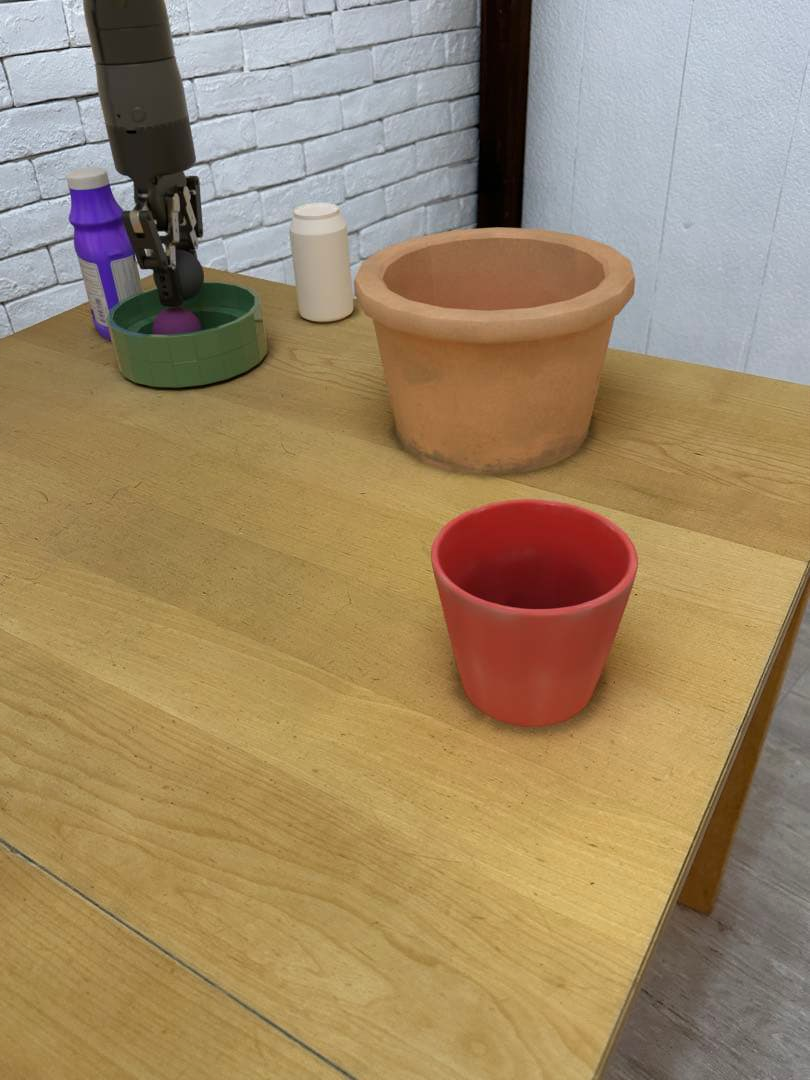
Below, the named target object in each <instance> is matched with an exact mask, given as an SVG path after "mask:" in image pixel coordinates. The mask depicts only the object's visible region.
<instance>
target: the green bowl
mask: <svg viewBox="0 0 810 1080" xmlns="http://www.w3.org/2000/svg"><path fill="white" fill-rule="evenodd" d="M179 307H182V308H185V309H187V310H189V311H191V312H192V313H193V314H194V315H195V316H196V317H197V318H198V320H199V322H200V324H201V327H202V331H198V332H193V333H183V334H173V335H152V326H153V322H154V320H155V318H156V317H157V315H158V314H159V313H160V312H161V311H163V310H165V309H167V308H170V307H165V306H163V305H162V304H161V303H160V298H159V294H158V289H157V287H152V288H149V289H146V290H143V291H142V292H139V293H136V294H134V295H132V296H130V297H128V298H126V299H124V300H122V301H120V302H118V303H117V304H116V305H115V306H114V307H113V308H111V309H110V310H109V313H108V316H107V319H106V320H107V324H108V329H109V333H110V337H111V341H110V342H111V344H112V348H113V352H114V357H115V360H116V364H117V368H118V370H119V371H120V373H121V375H122V376H123V377H124V378H125V379H128V380H129V381H131V382H133V383H135V384H140V385H144V386H150V387H155V388H176V389H177V388H185V387H186V388H187V387H196V386H197V387H198V386H205V385H209V384H214V383H217V382H222V381H227V380H229V379H231V378H234V377H236V376H238V375H241V374H244V373H246V372H248V371H249V370H251V369H253V367H255V366H257V365H258V364H259V363H261V362H262V361H263V359H264V358H265V356H266V355H267V354H268V341H267V334H266V333H267V332H266V326H265V321H264V320H265V319H264V312H263V305H262V298H261V295H260V294H259V293H258V292H256V291H255V289H253V288H251V287H249V286H246V285H244V284H240V283H236V282H235V283H234V282H228V281H221V280H204V282H203V286H202V288H201V290H200V291H199V293H198V294H197V295H196V296H194V297H193V298H191V299H189V300H185V301H184V302H183V303H182V304H181V305H180V306H179Z"/></svg>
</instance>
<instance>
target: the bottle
mask: <svg viewBox="0 0 810 1080" xmlns="http://www.w3.org/2000/svg"><path fill="white" fill-rule="evenodd" d="M65 178H66V182H67V187H68V191H69V195H70V209H69V214H68V222H69V223H70V225H71V226H72V227H73V247H74V252H75V253H76V257H77V261H78V264H79V268H80V272H81V276H82V280H83V284H84V288H85V292H86V296H87V300H88V304H89V308H90V313H91V316H92V322H93V324H94V325H93V326H94V327H95V329H96V331H97V332H98V334H99V335H100V336H101V337H102V338H103V339H105V340H107V341H110V342H112V341H111V337H110V333H109V329H108V324H107V320H106V319H107V316H108V313H109V310H110V309H111V308H113V307H114V306H115V305H116V304H117V303H118V302H120V301H122V300H124V299H126V298H128V297H130V296H132V295H134V294H136V293H139V292H142V291H144V289H143V285H142V281H141V277H140V272H139V266H138V261H137V259H136V256H135V253H134V251H133V248H132V245H131V243H130V240H129V237H128V234H127V232H126V229H125V226H124V224H123V221H122V212H123V211H124V209H123V208H122V207H121V206H120V204H119V203H118V201H117V200H116V198H115V196H114V193H113V191H112V186H111V184H110V180H109V176H108V171H107V169H106V168H103V167H96V166H91V167H90V166H89V167H82V168H77V169H73V170H71V171H69V172H67V173H66V174H65Z"/></svg>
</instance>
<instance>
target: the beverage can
mask: <svg viewBox="0 0 810 1080" xmlns="http://www.w3.org/2000/svg"><path fill="white" fill-rule="evenodd" d="M292 213H293V216H292V219H291V221H290V224H289V227H288V233H289V241H290V248H291V257H292V264H293V265H292V267H293V274H294V275H293V276H294V282H295V289H296V290H295V291H296V298H297V305H298V313H299V315H300V316H301V317H302V318H303V319H305V320H308V321H310V322H313V323H333V322H337V321H341V320H343V319H345V318H347V317H348V316H349V315H351V314H352V313H353V311H354V295H353V294H354V293H353V282H352V281H353V280H352V270H351V259H350V247H349V235H348V224H347V222H346V220H345V218H344V217H343V215H342V213H341V211H340V207H339V205H337V204H334V203H330V202H312V203H305V204H302V205H298V206H297V207H295V208H294V209H293V210H292Z"/></svg>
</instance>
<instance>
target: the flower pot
mask: <svg viewBox="0 0 810 1080" xmlns="http://www.w3.org/2000/svg"><path fill="white" fill-rule="evenodd" d="M430 562H431V566H432V567H431V568H432V573H433V577H434V580H435V585H436V588H437V593H438V596H439V600H440V604H441V608H442V613H443V617H444V621H445V625H446V629H447V634H448V638H449V642H450V645H451V649H452V652H453V656H454V661H455V663H456V667H457V670H458V674H459V677H460V681H461V684H462V688H463V690H464V693H465V695H466V697H467V699H468V700H469V701H470V702H471V703H472V704H473V705H474V706H475V708H477V709H478V710H479V711H481V712H482V713H483V714H485V715H487V716H488V717H489V718H491V719H494V720H496V721H499V722H502V723H505V724H507V725H512V726H517V727H524V728H525V727H527V728H537V727H538V728H539V727H547V726H552V725H553V726H554V725H557V724H560V723H563V722H566V721H568V720H570V719H571V718H573V717H575V716H576V715H578V714H579V713H580V712H581V711H582V710H584V709H585V708H586V706H587V705H588V704H589V702H590V700H591V698H592V697H593V694H594V692H595V689H596V687H597V684H598V683H599V680H600V678H601V675H602V672H603V671H604V668H605V665H606V663H607V660H608V657H609V655H610V653H611V649H612V647H613V643H614V642H615V639H616V636H617V633H618V631H619V627H620V625H621V622H622V619H623V616H624V614H625V610H626V607H627V605H628V602H629V599H630V595H631V594H632V590H633V587H634V583H635V580H636V577H637V572H638V568H639V556H638V552H637V550H636V547H635V545H634V543H633V541H632V539H631V538H630V537H629V535H628V534H627V533H626V532H625V531H624V530H623V529H622V528H621V527H620V526H618V525H617V524H616V523H615V522H613V521H612V520H610V519H609V518H607V517H605V516H603V515H601V514H599V513H597V512H595V511H593V510H590V509H587V508H585V507H582V506H580V505H575V504H572V503H567V502H564V501H563V502H562V501H557V500H549V499H537V498H520V499H508V500H502V501H496V502H492V503H488V504H483V505H481V506H477V507H474V508H473V509H470V510H468V511H465V512H463V513H461V514H459V515H457V516H456V517H454V518H452V519H451V520H450V521H449V522H447V523H446V524H445V525H444V526H443V527H442V528H441V529H440V530H439V532H438V533H437V535H436V536H435V538H434V540H433V542H432V545H431V549H430Z"/></svg>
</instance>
